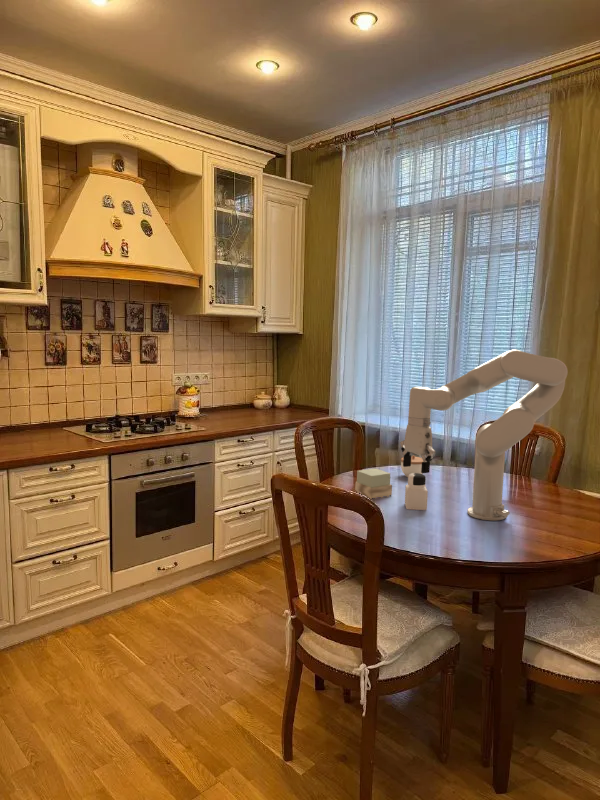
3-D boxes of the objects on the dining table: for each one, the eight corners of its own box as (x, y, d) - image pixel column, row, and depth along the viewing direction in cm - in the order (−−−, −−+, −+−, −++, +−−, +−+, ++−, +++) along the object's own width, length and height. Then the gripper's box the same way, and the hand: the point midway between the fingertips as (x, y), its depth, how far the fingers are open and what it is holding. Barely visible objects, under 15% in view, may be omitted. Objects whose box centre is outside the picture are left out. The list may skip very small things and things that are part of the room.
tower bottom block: (391, 496, 213) (392, 485, 212) (370, 499, 208) (370, 488, 207) (375, 490, 221) (376, 479, 221) (355, 493, 216) (355, 481, 216)
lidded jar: (409, 472, 250) (409, 451, 249) (429, 476, 242) (430, 455, 241) (395, 476, 242) (396, 455, 241) (416, 481, 235) (417, 459, 234)
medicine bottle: (424, 504, 202) (426, 472, 201) (426, 510, 195) (428, 477, 194) (404, 503, 203) (406, 471, 202) (406, 509, 196) (407, 476, 194)
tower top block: (389, 484, 212) (390, 473, 212) (371, 487, 208) (371, 476, 207) (375, 479, 220) (375, 468, 220) (356, 482, 215) (357, 470, 215)
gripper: (444, 425, 190) (440, 474, 192) (410, 417, 205) (408, 463, 207) (427, 426, 186) (424, 476, 188) (394, 418, 201) (392, 464, 203)
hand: (415, 469), depth 198 cm, fingers open, 9 cm apart
